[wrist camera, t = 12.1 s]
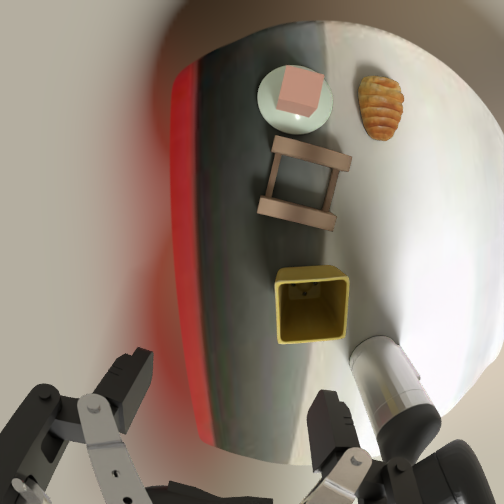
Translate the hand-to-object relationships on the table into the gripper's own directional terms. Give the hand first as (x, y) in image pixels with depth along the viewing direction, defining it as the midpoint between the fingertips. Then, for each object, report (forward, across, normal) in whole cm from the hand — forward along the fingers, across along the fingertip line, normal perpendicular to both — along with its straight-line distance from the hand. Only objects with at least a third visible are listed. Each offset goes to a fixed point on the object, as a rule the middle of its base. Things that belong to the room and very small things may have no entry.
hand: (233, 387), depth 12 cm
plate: (+28, 0, -20) cm, 35 cm away
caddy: (+29, -4, -9) cm, 30 cm away
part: (+28, -1, -20) cm, 34 cm away
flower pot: (+29, -8, +5) cm, 31 cm away
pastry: (+29, -12, -24) cm, 40 cm away
